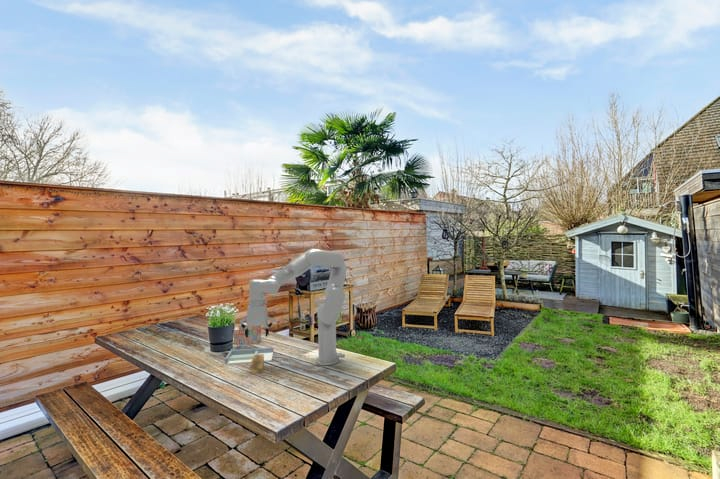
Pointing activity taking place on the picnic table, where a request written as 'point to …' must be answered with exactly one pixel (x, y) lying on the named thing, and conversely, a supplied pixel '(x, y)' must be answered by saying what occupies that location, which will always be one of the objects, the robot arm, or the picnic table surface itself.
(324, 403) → the picnic table surface
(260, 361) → the ochre block
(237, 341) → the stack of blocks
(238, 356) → the arena
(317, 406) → the picnic table surface
